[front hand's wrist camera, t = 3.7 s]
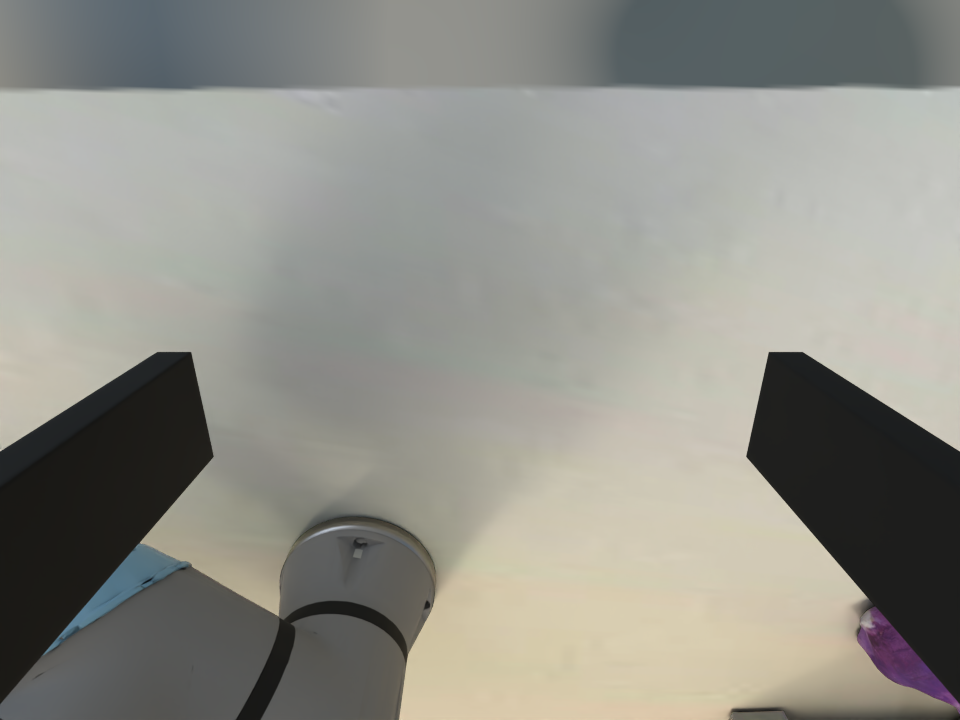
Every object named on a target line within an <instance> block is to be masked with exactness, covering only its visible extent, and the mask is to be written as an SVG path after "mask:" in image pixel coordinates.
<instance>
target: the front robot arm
mask: <svg viewBox="0 0 960 720" xmlns="http://www.w3.org/2000/svg"><path fill="white" fill-rule="evenodd" d="M213 457H214V456H213V451H212V446H211V442H210V437H209V433H208V428H207V423H206V419H205V414H204V409H203V405H202V400H201V396H200V391H199V386H198V382H197V377H196V373H195V368H194V363H193V359H192V354H191V352H157V353H155V354H154V355H152V356H150V357H149V358H147V359H146V360H144V361H143V362H141V363H139V364H138V365H136V366H135V367H133V368H132V369H130V370H128V371H127V372H125V373H124V374H122V375H120V376H119V377H117V378H116V379H114V380H113V381H111V382H109V383H108V384H106V385H105V386H103V387H102V388H100V389H98V390H97V391H95V392H94V393H92V394H90V395H89V396H87V397H86V398H84V399H83V400H81V401H79V402H78V403H76V404H75V405H73V406H72V407H70V408H68V409H67V410H65V411H64V412H62V413H60V414H59V415H57V416H56V417H54V418H53V419H51V420H49V421H48V422H46V423H45V424H43V425H42V426H40V427H38V428H37V429H35V430H34V431H32V432H30V433H29V434H27V435H26V436H24V437H23V438H21V439H19V440H18V441H16V442H15V443H13V444H12V445H10V446H8V447H7V448H5V449H4V450H2V451H0V720H399V715H400V708H401V700H402V693H403V685H404V678H405V670H406V663H407V657H408V653H409V651H410V650H411V648H412V646H413V644H414V642H415V640H416V638H417V636H418V634H419V633H420V631H421V629H422V627H423V625H424V623H425V621H426V620H427V617H428V616H429V614H430V612H431V609H432V607H433V603H434V596H435V586H436V574H435V568H434V565H433V562H432V560H431V558H430V556H429V554H428V553H427V551H426V550H425V548H424V547H423V546H422V545H421V544H420V543H419V542H418V541H417V540H416V539H415V538H414V537H413V536H411V535H410V534H409V533H407V532H406V531H404V530H403V529H401V528H399V527H397V526H395V525H392V524H390V523H387V522H384V521H381V520H377V519H372V518H365V517H344V518H337V519H333V520H329V521H326V522H323V523H321V524H319V525H316V526H314V527H313V528H311V529H309V530H308V531H307V532H305V533H304V534H303V535H302V536H301V537H300V538H299V539H298V540H297V541H296V542H295V544H294V545H293V547H292V548H291V550H290V552H289V554H288V557H287V559H286V561H285V563H284V565H283V568H282V571H281V575H280V606H279V617H278V616H277V615H275V614H273V613H271V612H269V611H268V610H266V609H264V608H262V607H260V606H259V605H257V604H255V603H253V602H252V601H250V600H248V599H246V598H244V597H243V596H241V595H239V594H237V593H235V592H234V591H232V590H230V589H229V588H227V587H225V586H223V585H222V584H220V583H218V582H217V581H215V580H213V579H211V578H210V577H208V576H206V575H205V574H203V573H201V572H199V571H198V570H196V569H194V568H193V567H192V564H190V563H189V562H186V561H182V562H181V561H179V560H176V559H174V558H172V557H170V556H168V555H166V554H164V553H162V552H160V551H158V550H156V549H154V548H152V547H150V546H147V545H144V544H139V543H140V542H141V540H142V539H143V538H144V537H145V536H146V535H147V533H148V532H149V531H150V530H151V529H152V528H153V526H154V525H155V524H156V523H157V522H158V521H159V520H160V518H161V517H162V516H163V515H164V514H165V513H166V511H167V510H168V509H169V508H170V507H171V506H172V504H173V503H174V502H175V501H176V500H177V499H178V497H179V496H180V495H181V494H182V493H183V492H184V491H185V489H186V488H187V487H188V486H189V485H190V484H191V482H192V481H193V480H194V479H195V478H196V477H197V475H198V474H199V473H200V472H201V471H202V470H203V468H204V467H205V466H206V465H207V464H208V463H209V462H210V460H211V459H212V458H213ZM746 457H747V458H748V459H749V460H750V462H751V463H752V464H753V465H754V466H755V467H756V468H757V470H758V471H759V472H760V473H761V474H762V475H763V477H764V478H765V479H766V480H767V481H768V482H769V484H770V485H771V486H772V487H773V488H774V489H775V491H776V492H777V493H778V494H779V495H780V496H781V497H782V499H783V500H784V501H785V502H786V503H787V504H788V506H789V507H790V508H791V509H792V510H793V511H794V513H795V514H796V515H797V516H798V517H799V518H800V520H801V521H802V522H803V523H804V524H805V525H806V526H807V528H808V529H809V530H810V531H811V532H812V533H813V535H814V536H815V537H816V538H817V539H818V540H819V542H820V543H821V544H822V545H823V546H824V547H825V549H826V550H827V551H828V552H829V553H830V554H831V555H832V557H833V558H834V559H835V560H836V561H837V562H838V564H839V565H840V566H841V567H842V568H843V569H844V571H845V572H846V573H847V574H848V575H849V576H850V577H851V579H852V580H853V581H854V582H855V583H856V584H857V586H858V587H859V588H860V589H861V590H862V591H863V593H864V594H865V595H866V596H867V597H868V598H869V600H870V601H871V602H872V603H873V604H874V605H875V606H876V608H877V609H878V610H879V611H880V612H881V613H882V615H883V616H884V617H885V618H886V619H887V620H888V622H889V623H890V624H891V625H892V626H893V627H894V629H895V630H896V631H897V632H898V633H899V634H900V635H901V637H902V638H903V639H904V640H905V641H906V642H907V644H908V645H909V646H910V647H911V648H912V649H913V651H914V652H915V653H916V654H917V655H918V656H919V658H920V659H921V660H922V661H923V662H924V663H925V664H926V666H927V667H928V668H929V669H930V670H931V671H932V673H933V674H934V675H935V676H936V677H937V678H938V680H939V681H940V682H941V683H942V684H943V685H944V687H945V688H946V689H947V690H948V691H949V692H950V693H951V695H952V696H953V697H954V698H955V699H956V700H957V702H958V703H959V704H960V451H958V450H956V449H955V448H953V447H952V446H950V445H948V444H947V443H945V442H944V441H942V440H941V439H939V438H937V437H936V436H934V435H933V434H931V433H930V432H928V431H926V430H925V429H923V428H922V427H920V426H918V425H917V424H915V423H914V422H912V421H911V420H909V419H907V418H906V417H904V416H903V415H901V414H900V413H898V412H896V411H895V410H893V409H892V408H890V407H888V406H887V405H885V404H884V403H882V402H881V401H879V400H877V399H876V398H874V397H873V396H871V395H870V394H868V393H866V392H865V391H863V390H862V389H860V388H858V387H857V386H855V385H854V384H852V383H851V382H849V381H847V380H846V379H844V378H843V377H841V376H840V375H838V374H836V373H835V372H833V371H832V370H830V369H828V368H827V367H825V366H824V365H822V364H821V363H819V362H817V361H816V360H814V359H813V358H811V357H810V356H808V355H806V354H805V353H803V352H769V354H768V359H767V363H766V368H765V373H764V377H763V382H762V386H761V391H760V396H759V400H758V405H757V409H756V414H755V419H754V423H753V428H752V433H751V437H750V442H749V446H748V451H747V456H746Z"/></svg>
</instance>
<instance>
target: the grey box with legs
mask: <svg viewBox="0 0 960 720" xmlns="http://www.w3.org/2000/svg"><path fill="white" fill-rule="evenodd" d="M732 718H733V719H732ZM731 719H732V720H788V719H787V717H786V715H785V713H784V711H764V712H733V713H732V714H731V716H730V718H729V720H731ZM958 720H960V719H958Z"/></svg>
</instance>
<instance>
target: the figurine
mask: <svg viewBox="0 0 960 720" xmlns="http://www.w3.org/2000/svg"><path fill="white" fill-rule="evenodd" d="M860 625H861V629H860V631H859V633H858V636H857V640H858V643H859V644H860V645H861V646H862V648H863V649H864V650H865V651H866V653H867V654H868V655H869V657H870V658H871V660H872V661H873V663H874V664H875V666H876V667H877V668H878V669H879V671H880V672H881V673H883V674H884V675H885V676H886V677H887V678H888V679H890V680H892V681H893V682H895V683H898V684H900V685H903V686H907V687H911V688H915V689H917V690H919V691H921V692H924V693H926V694H928V695H930V696H932V697H934V698H937V699H939V700H942V701H944V702H947V703H949V704H951V705H953V706H954V707H956V709H957V711H958V712H959V714H960V704H959V703H958V702H957V700H956V699H955V698H954V697H953V696H952V695H951V693H950V692H949V691H948V690H947V689H946V688H945V687H944V685H943V684H942V683H941V682H940V681H939V680H938V678H937V677H936V676H935V675H934V674H933V673H932V671H931V670H930V669H929V668H928V667H927V666H926V664H925V663H924V662H923V661H922V660H921V659H920V658H919V656H918V655H917V654H916V653H915V652H914V651H913V649H912V648H911V647H910V646H909V645H908V644H907V642H906V641H905V640H904V639H903V638H902V637H901V635H900V634H899V633H898V632H897V631H896V630H895V629H894V627H893V626H892V625H891V624H890V623H889V622H888V620H887V619H886V618H885V617H884V616H883V615H882V613H881V612H880V611H879V610H878V609H877V608H876V606H875V607H873V608H871V609H869V610H867V611H866V612H865V613H864V614H863V615H862V616H861V618H860Z"/></svg>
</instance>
